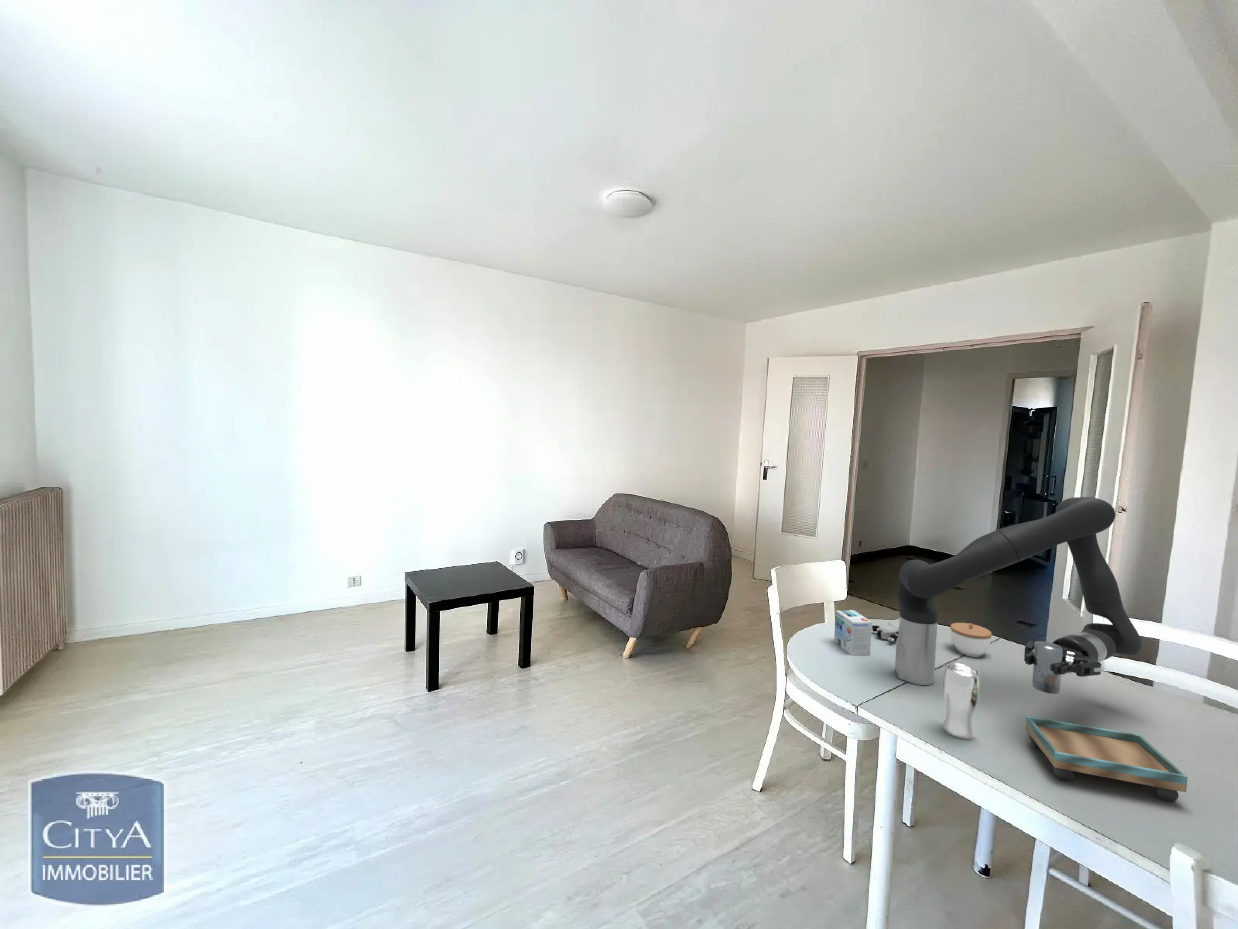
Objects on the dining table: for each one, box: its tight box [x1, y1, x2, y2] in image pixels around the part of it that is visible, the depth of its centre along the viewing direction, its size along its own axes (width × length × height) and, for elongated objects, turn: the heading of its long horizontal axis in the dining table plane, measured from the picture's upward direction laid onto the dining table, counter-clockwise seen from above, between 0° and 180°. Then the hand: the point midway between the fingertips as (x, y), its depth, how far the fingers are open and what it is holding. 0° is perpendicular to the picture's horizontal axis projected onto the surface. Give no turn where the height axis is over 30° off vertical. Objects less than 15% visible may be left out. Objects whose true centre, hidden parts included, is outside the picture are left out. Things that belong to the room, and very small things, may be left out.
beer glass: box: [942, 662, 981, 741], centre depth 117 cm, size 7×7×15 cm
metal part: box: [1031, 640, 1063, 695], centre depth 114 cm, size 5×5×10 cm
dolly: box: [1024, 715, 1188, 803], centre depth 104 cm, size 20×14×6 cm
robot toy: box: [871, 617, 900, 643], centre depth 172 cm, size 12×4×15 cm
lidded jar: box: [949, 622, 993, 658], centre depth 160 cm, size 11×11×9 cm
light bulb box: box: [833, 609, 873, 656], centre depth 162 cm, size 11×7×11 cm, turn 5°
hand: (1041, 665), depth 113 cm, fingers closed on metal part, 4 cm apart
